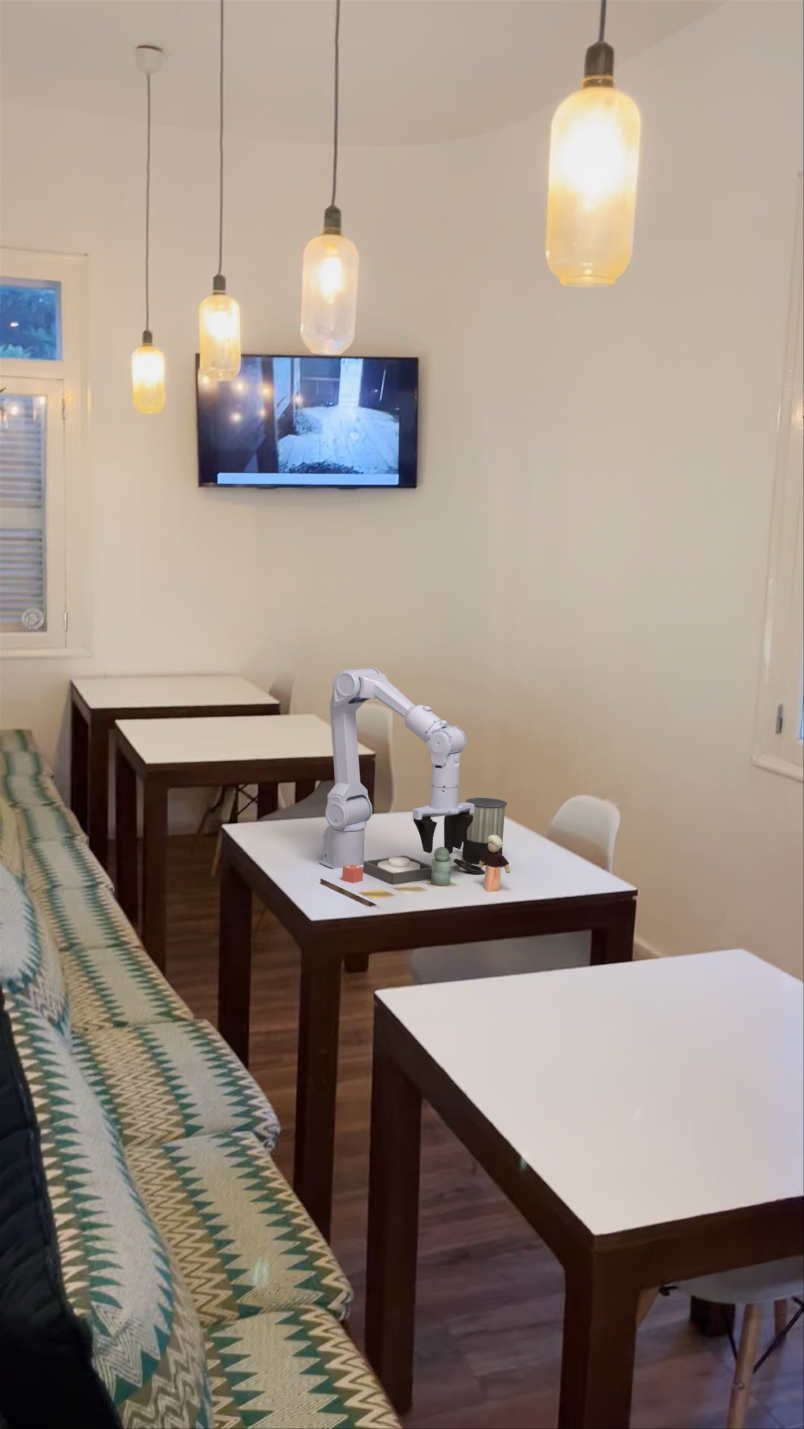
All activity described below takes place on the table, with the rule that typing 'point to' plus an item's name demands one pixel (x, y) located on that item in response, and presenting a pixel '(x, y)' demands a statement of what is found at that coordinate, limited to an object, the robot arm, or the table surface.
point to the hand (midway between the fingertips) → (442, 849)
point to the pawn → (441, 867)
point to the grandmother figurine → (493, 864)
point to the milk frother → (478, 832)
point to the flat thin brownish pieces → (382, 891)
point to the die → (352, 874)
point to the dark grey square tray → (398, 877)
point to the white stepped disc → (398, 864)
